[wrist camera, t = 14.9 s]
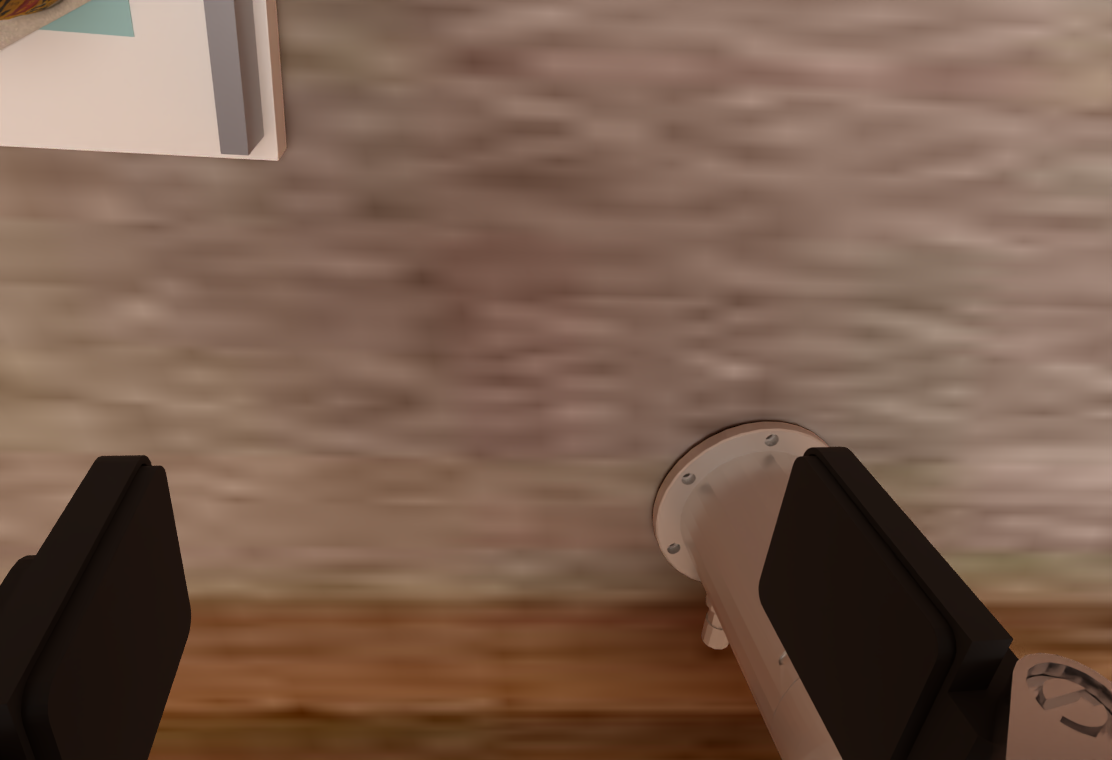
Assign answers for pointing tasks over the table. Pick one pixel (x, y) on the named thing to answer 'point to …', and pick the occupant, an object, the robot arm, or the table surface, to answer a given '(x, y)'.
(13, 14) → the condiment
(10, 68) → the dock
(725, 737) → the table surface
